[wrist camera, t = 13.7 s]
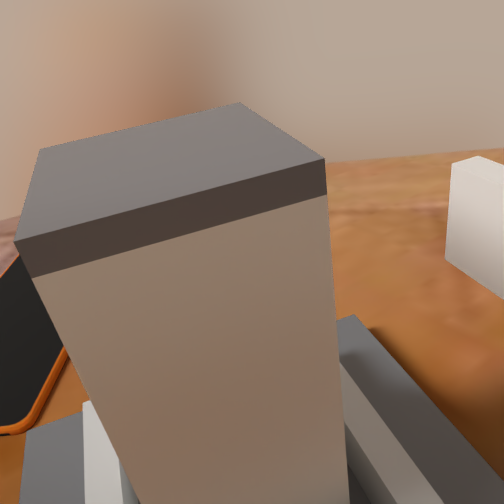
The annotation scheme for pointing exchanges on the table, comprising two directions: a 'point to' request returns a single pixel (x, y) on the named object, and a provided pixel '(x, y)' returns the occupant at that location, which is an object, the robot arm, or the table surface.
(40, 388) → the smartphone
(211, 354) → the block
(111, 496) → the dock
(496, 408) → the table surface
